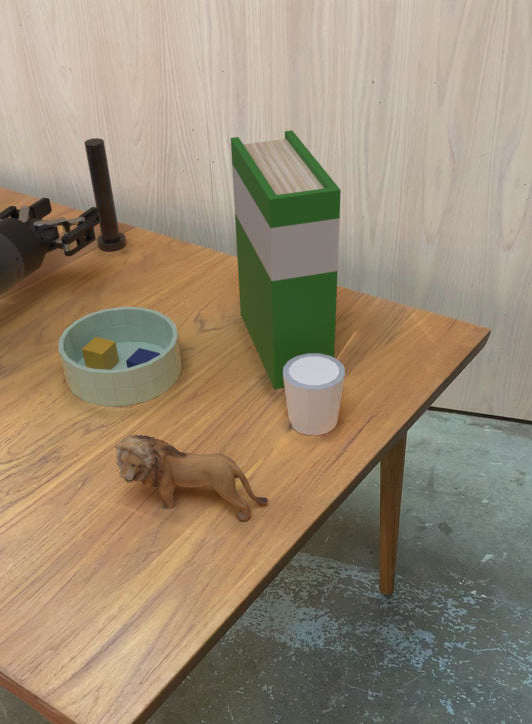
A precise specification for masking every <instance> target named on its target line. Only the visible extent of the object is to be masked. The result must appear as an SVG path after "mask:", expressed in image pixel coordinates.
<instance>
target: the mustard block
mask: <svg viewBox="0 0 532 724" xmlns="http://www.w3.org/2000/svg"><path fill="white" fill-rule="evenodd" d="M82 352H83V356H84V360H85V365H86V367H89V368H93V369H104V370H111V369H112V368H113V367H114V366H115V365H116V364H117V363H118V362H119V358H118V352H117V347H116V342H114V341H110V340H107V339H103V338H99V337H95V338H94V339H93V340H91V341H90V342H89V343H88V344H87V345H86V346H85V347H84V348H83V349H82Z"/></svg>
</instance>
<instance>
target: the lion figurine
mask: <svg viewBox="0 0 532 724" xmlns="http://www.w3.org/2000/svg"><path fill="white" fill-rule="evenodd" d="M114 447H115V450H116V452H115V454H116V466H117V467H118V468H119V470H120V471H119V477H120V478H121V479H124V481H125V483H127V484H132V483H133V482H136V483H139V482H140V483H142V485H143V486H144V487H147V488H154V489H156V488H157V489H158V491H159V494H160V496H161V498H162V500H163V502H164V504H163V505H162V506H161V509H162V510H173V509H174V507H176V502H175V499H174V492H175V490H176V487H178V486H179V487H183V488H199V487H204V486H206V485H208V484H210V485H212V486H213V487H214V489H215V491H216V492H217V493H218V495H219V496H220V497H222V499H224V500H225V501H226V502H228V503H229V504H231V505H233V506H235V507H237V508H238V509H239V511H238V512H237V513H236V517H237V519H238V520H239V521H240V522H245V521H248V520H249V518H250V517H251V509H250V505H249V502H248V500H246V499H244V498H243V497H242V496H241V495H240V493H239V492H238V490H237V487H236V479H239V481H240V482H241V484H242V486H243V488H244V490H245V491H246V493H247V495H248V496H249V498H250V499H251V500H252V501H254V502H256V504H260V505H264V504H268V502H269V499H268V498H267V497H263V496H262V497H261V496H256V495H255V494H254V491H253V490H252V488H251V487H252V486H251V485H250V483H249V480H248V478H247V476H246V474H245V473H244V472H243V470H242V468H241V467H239V466H238V464H237V463H236V461H235V460H234V459H233V458H231V457H230V456H228V455H226V454H223V453H206V454H205V453H204V454H201V453H191V452H183V451H179V450H178V449H177V448H176V447H175V446H173V445H172V444H169V442H166V441H165V440H162V439H159V438H156V437H154V436H148V435H142V434H133V435H129V436H128V435H127V436H125V437H124V438H123V439H121V441H120V442H119V443H118V444H115V445H114Z"/></svg>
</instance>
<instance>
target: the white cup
mask: <svg viewBox="0 0 532 724" xmlns="http://www.w3.org/2000/svg"><path fill="white" fill-rule="evenodd" d="M345 378H346V368H345V366H344V364H343V363H342V362H341V361H340V360H339V359H337V358H336V357H335V356H334V357H332V356H329V355H324V354H320V353H308V354H303V355H299V356H296V357H294V358H292V359H291V360H289V361H288V362H287V363H286V364H285V366H284V367H283V379H284V386H285V388H284V393H285V403H286V409H287V418H288V421H289V422H290V427H291V429H293V430H294V431H296V432H297V433H299V434H302V435H306V436H321V435H325V434H328V433H329V432H331V431H333V430H334V429H335V428H336V426H337V425H338V422H339V414H340V409H341V403H342V395H343V390H344V383H345Z"/></svg>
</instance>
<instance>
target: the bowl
mask: <svg viewBox="0 0 532 724" xmlns="http://www.w3.org/2000/svg"><path fill="white" fill-rule="evenodd" d="M95 337H99V338H103V339H107V340H110V341H114V342H116V347H117V352H118V358H119V362H118V363H117V364H116V365H115V366H114V367H113V368H112V369H111V370H104V369H93V368H89V367H86V365H85V360H84V356H83V352H82V349H83V348H84V347H85V346H86V345H87V344H88V343H89V342H90V341H91V340H93V339H94V338H95ZM138 348H142V349H146V350H150V351H154V352H157V353H160V355H158V356H157V357H155V358H153V359H151V360H150V361H148V362H145V363H142V364H139V365H136V366H133V367H130V368H127V363H126V360H127V359H128V358H129V357H130V356H131V355H132V354H133V353H134V352H135V351H136V350H137V349H138ZM180 349H181V348H180V339H179V333H178V328H177V324H176V323H174V321H173V320H172V319H171V318H170V317H169V316H167V315H166V314H164V313H161V312H160V311H158V310H154V309H151V308H146V307H141V306H119V307H110V308H109V307H108V308H105V309H101V310H97V311H95V312H91V313H88V314H86V315H84V316H83V317H80V318H78V319H76V320H75V321H73V322H72V323H71V324H69V326H68V327H66V328H65V329H64V330H63V332H62V333H61V336H60V337H59V339H58V354H59V358H60V362H61V367H62V371H63V375H64V379H65V383H66V385H67V387H68V389H69V390H70V392H71V393H72V394H73V395H74V396H75V397H76V398H78V399H80V400H82V401H83V402H86V403H88V404H91V405H95V406H102V407H111V408H117V407H129V406H134V405H139V404H142V403H146V402H148V401H149V402H150V401H151V400H154V399H156V398H158V397H160V396H161V395H163V394H164V393H166V392H168V391H169V390H170V389H171V388H172V387H173V386H174V385H175V384H176V383H177V381H178V380H179V378H180V377H181V373H182V370H183V364H182V357H181V350H180Z"/></svg>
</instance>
